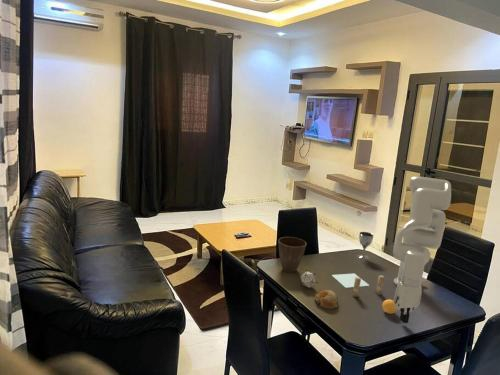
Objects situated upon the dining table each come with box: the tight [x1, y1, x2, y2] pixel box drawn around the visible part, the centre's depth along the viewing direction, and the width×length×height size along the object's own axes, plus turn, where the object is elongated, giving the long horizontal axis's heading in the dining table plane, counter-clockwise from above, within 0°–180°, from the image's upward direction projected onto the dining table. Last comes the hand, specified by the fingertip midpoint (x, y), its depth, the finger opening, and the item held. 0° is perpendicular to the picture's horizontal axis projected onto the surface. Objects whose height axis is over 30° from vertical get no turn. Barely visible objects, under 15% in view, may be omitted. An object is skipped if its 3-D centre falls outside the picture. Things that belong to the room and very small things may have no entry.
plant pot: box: [278, 236, 307, 273], centre depth 198 cm, size 15×15×16 cm
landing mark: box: [331, 273, 370, 289], centre depth 192 cm, size 14×14×1 cm
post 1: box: [352, 276, 362, 298], centre depth 175 cm, size 3×3×9 cm
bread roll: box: [314, 289, 339, 309], centre depth 167 cm, size 10×10×8 cm
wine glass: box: [356, 231, 374, 261], centre depth 224 cm, size 8×8×15 cm
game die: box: [298, 269, 319, 290], centre depth 181 cm, size 9×8×10 cm
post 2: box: [375, 274, 385, 296], centre depth 179 cm, size 3×3×9 cm
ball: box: [382, 298, 397, 315], centre depth 163 cm, size 6×6×6 cm
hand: (403, 321), depth 154 cm, fingers closed
